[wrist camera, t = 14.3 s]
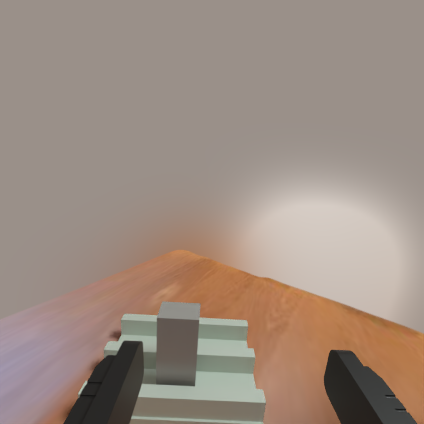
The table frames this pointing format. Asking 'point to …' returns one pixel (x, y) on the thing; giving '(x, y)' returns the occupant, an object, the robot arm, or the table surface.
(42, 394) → the table surface
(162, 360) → the grey rectangular block
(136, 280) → the table surface
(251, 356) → the pale green ridged block
